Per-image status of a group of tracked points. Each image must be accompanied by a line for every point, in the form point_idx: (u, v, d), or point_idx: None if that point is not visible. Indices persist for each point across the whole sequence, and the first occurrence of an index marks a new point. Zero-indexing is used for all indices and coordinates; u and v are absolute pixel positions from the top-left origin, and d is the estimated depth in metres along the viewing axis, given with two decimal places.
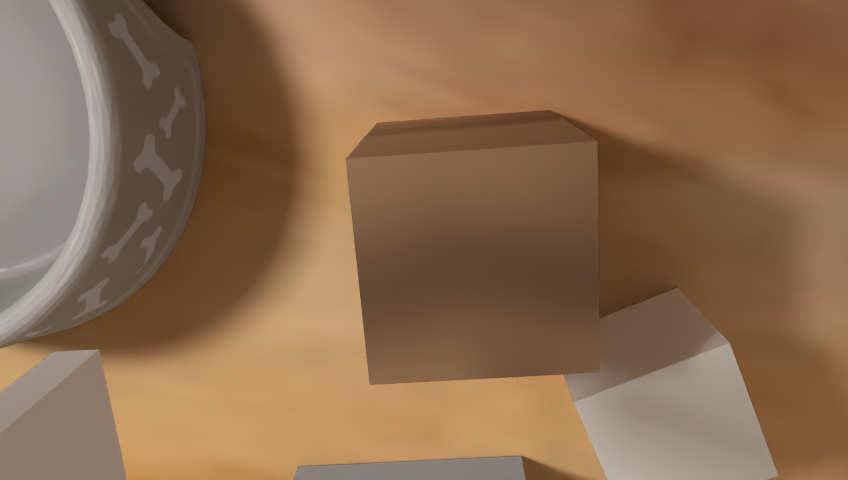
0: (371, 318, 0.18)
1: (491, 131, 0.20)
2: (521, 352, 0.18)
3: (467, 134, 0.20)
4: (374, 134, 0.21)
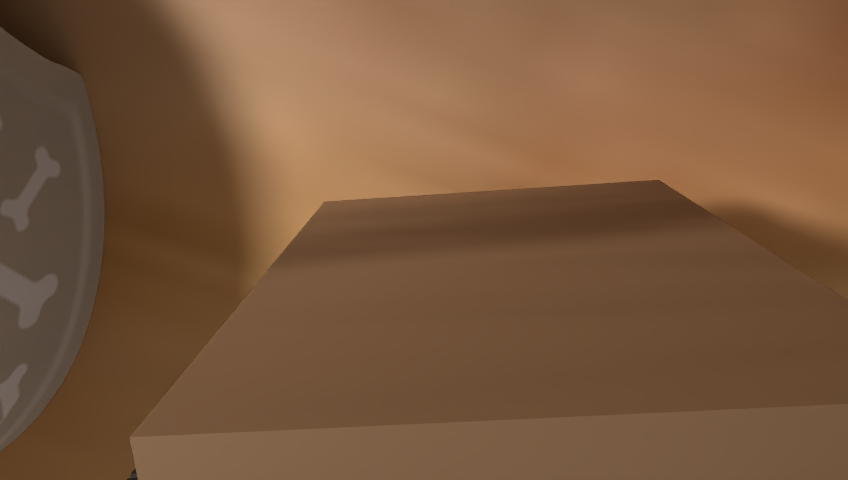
0: None
1: (572, 270, 0.08)
2: None
3: (514, 280, 0.08)
4: (297, 254, 0.09)
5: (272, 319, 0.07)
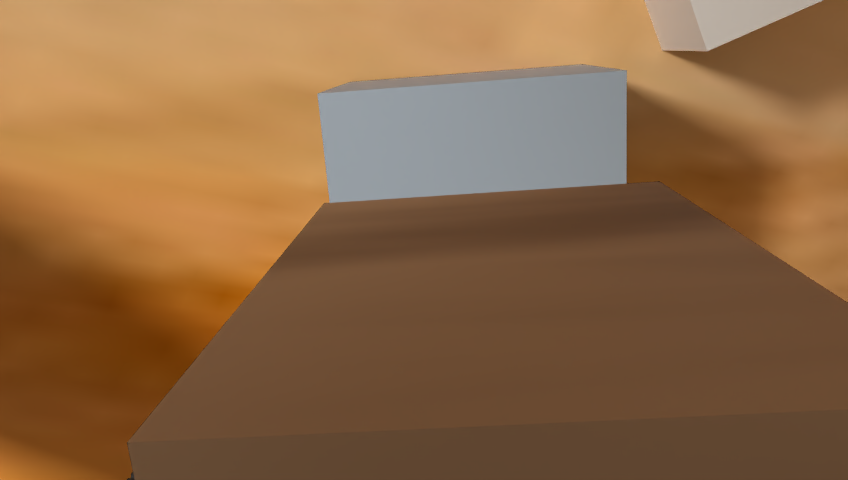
0: None
1: (573, 272, 0.08)
2: None
3: (514, 283, 0.08)
4: (296, 256, 0.09)
5: (271, 322, 0.07)
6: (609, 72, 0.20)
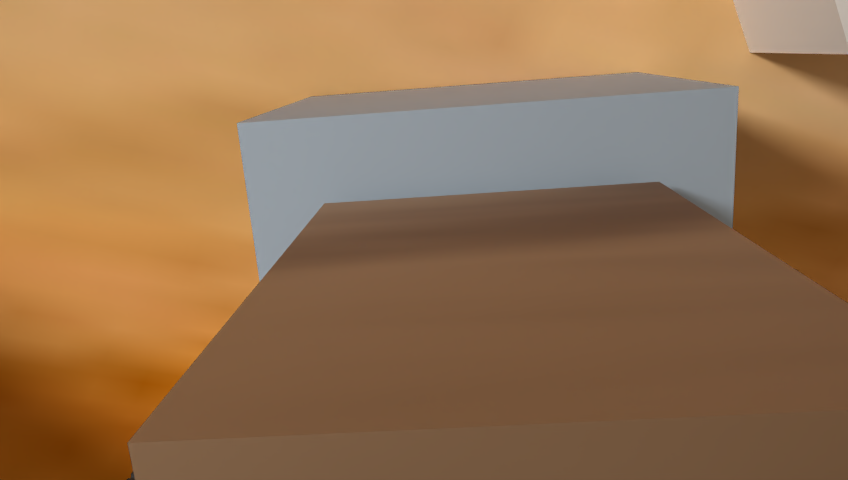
0: None
1: (573, 272, 0.08)
2: None
3: (514, 283, 0.08)
4: (296, 256, 0.09)
5: (271, 323, 0.07)
6: (710, 89, 0.12)
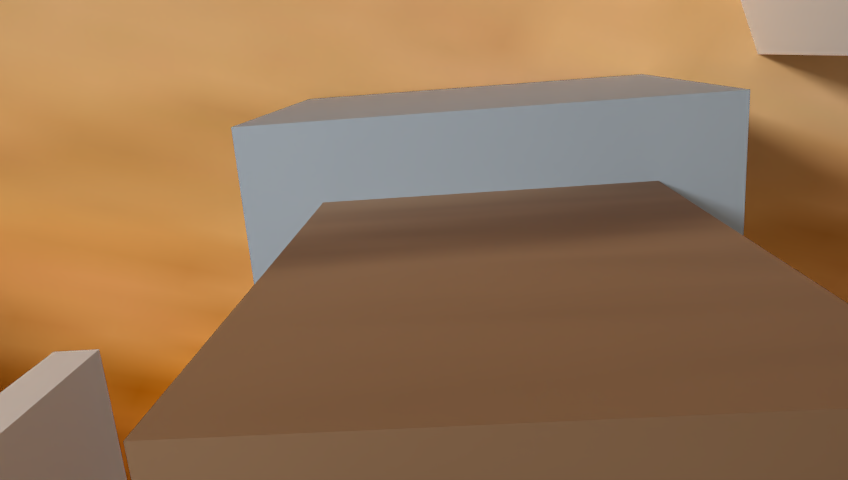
0: None
1: (571, 271, 0.08)
2: None
3: (512, 282, 0.08)
4: (295, 255, 0.09)
5: (269, 321, 0.07)
6: (720, 93, 0.12)
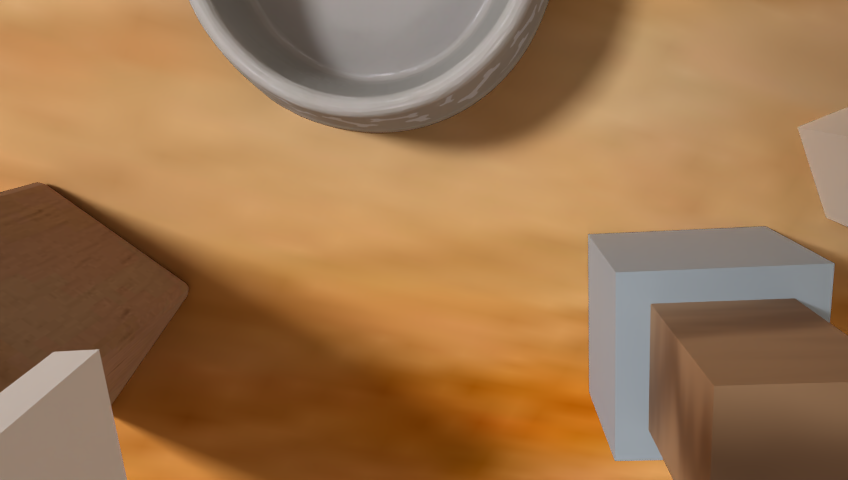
0: None
1: (789, 343, 0.25)
2: None
3: (772, 346, 0.25)
4: (679, 332, 0.27)
5: (707, 357, 0.24)
6: (822, 264, 0.29)
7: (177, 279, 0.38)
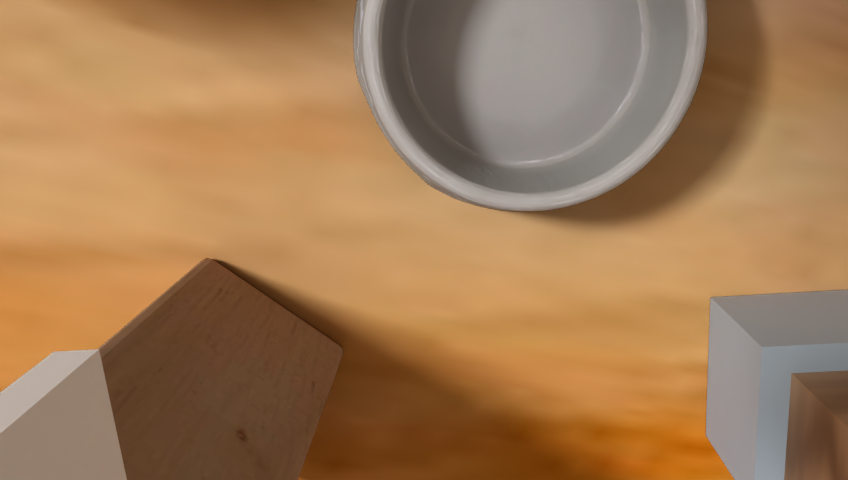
0: None
1: None
2: None
3: None
4: (833, 407, 0.31)
5: None
6: None
7: (333, 343, 0.42)
